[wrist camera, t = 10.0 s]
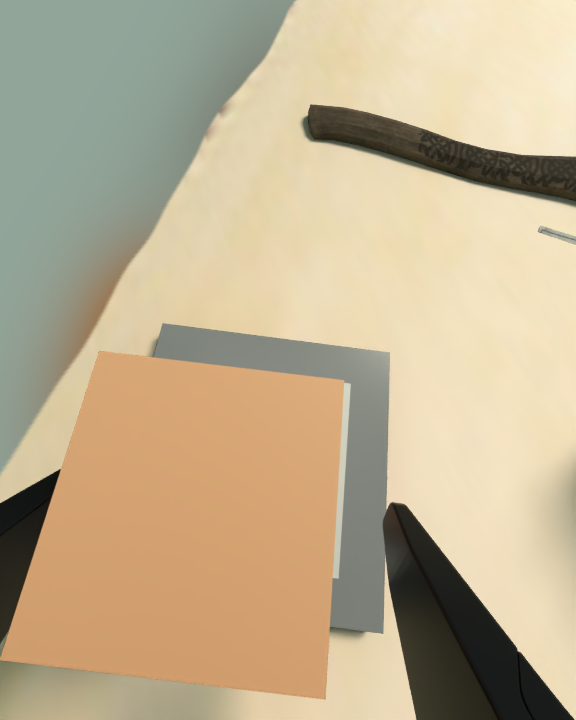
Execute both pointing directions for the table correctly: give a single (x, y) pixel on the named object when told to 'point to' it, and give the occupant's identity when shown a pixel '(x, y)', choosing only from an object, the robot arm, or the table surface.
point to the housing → (357, 451)
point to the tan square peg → (190, 530)
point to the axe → (449, 154)
